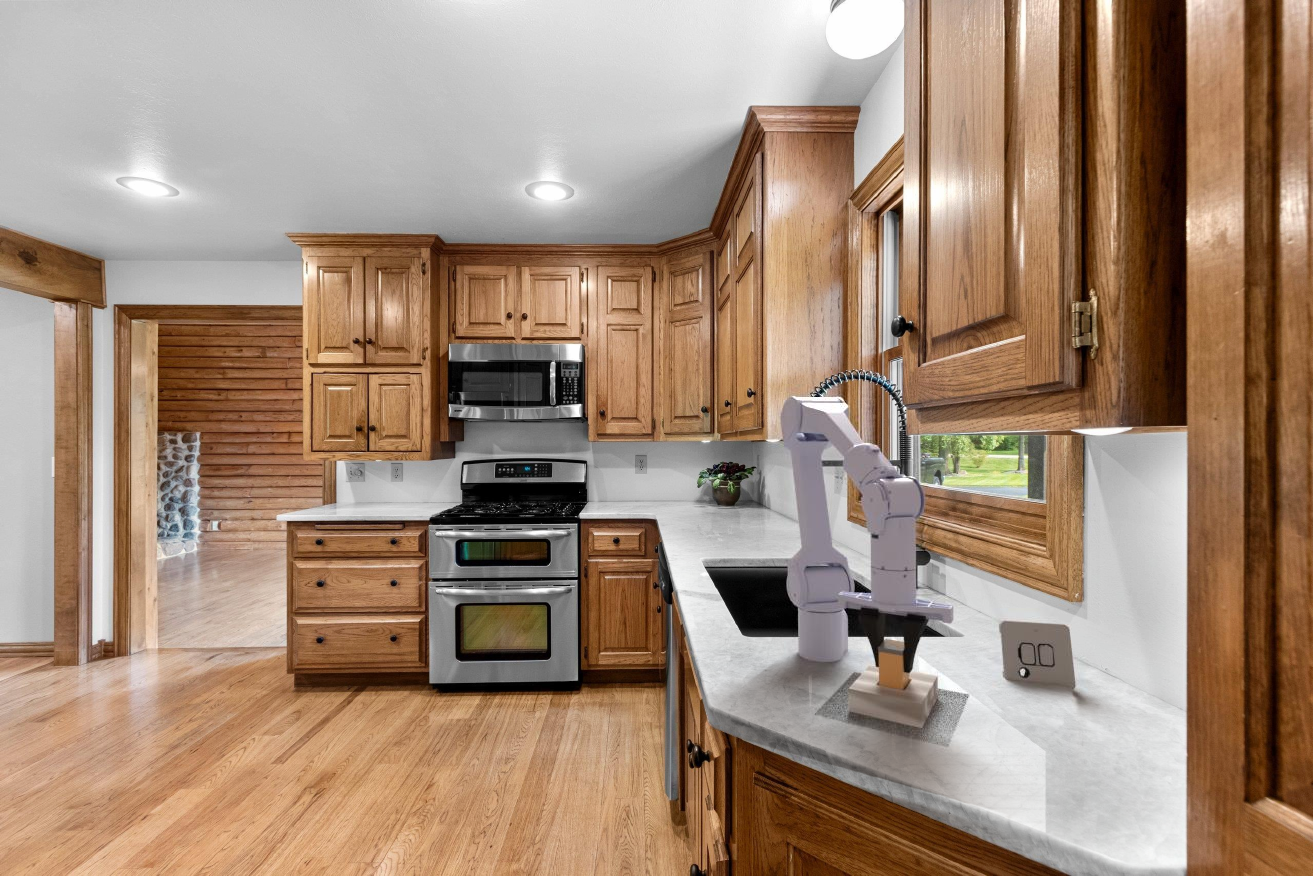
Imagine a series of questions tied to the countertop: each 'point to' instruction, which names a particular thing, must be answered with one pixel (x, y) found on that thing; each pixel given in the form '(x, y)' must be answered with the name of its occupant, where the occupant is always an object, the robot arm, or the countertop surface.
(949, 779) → the countertop surface
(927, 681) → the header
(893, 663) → the plug
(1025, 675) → the electrical switch
